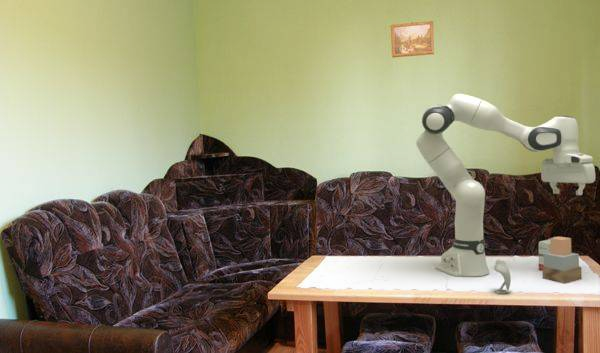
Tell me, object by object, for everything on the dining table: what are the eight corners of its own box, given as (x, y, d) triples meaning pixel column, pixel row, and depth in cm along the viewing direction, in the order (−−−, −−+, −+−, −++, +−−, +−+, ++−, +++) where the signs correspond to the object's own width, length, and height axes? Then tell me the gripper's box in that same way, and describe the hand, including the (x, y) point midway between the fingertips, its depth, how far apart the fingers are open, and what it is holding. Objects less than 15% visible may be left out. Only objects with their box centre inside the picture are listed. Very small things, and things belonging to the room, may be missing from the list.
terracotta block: (550, 253, 186) (550, 238, 185) (558, 251, 188) (558, 236, 188) (563, 255, 181) (562, 240, 181) (571, 253, 184) (570, 238, 183)
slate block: (543, 266, 186) (543, 253, 186) (559, 263, 190) (559, 250, 190) (563, 270, 179) (562, 257, 179) (578, 267, 183) (578, 253, 183)
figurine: (512, 295, 168) (511, 261, 168) (496, 295, 170) (495, 261, 169) (509, 289, 176) (508, 256, 175) (493, 288, 177) (492, 256, 176)
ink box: (549, 272, 195) (548, 243, 194) (538, 270, 199) (537, 241, 198) (562, 268, 199) (561, 240, 198) (551, 266, 203) (550, 238, 203)
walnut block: (542, 279, 187) (542, 266, 186) (559, 275, 191) (559, 262, 191) (564, 284, 179) (564, 271, 178) (581, 279, 183) (581, 266, 183)
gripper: (536, 159, 192) (538, 193, 193) (586, 158, 174) (587, 196, 175) (547, 158, 195) (548, 192, 196) (597, 157, 177) (598, 194, 177)
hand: (567, 194), depth 185 cm, fingers open, 8 cm apart
